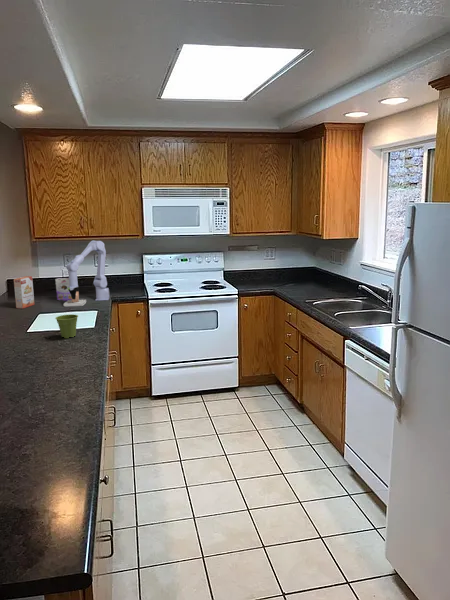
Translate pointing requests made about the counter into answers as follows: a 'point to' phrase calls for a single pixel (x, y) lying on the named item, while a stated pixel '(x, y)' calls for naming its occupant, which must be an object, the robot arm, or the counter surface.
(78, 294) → the peach small lump
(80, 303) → the tray
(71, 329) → the plant pot
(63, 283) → the candy box
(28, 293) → the cracker box
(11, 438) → the counter surface
